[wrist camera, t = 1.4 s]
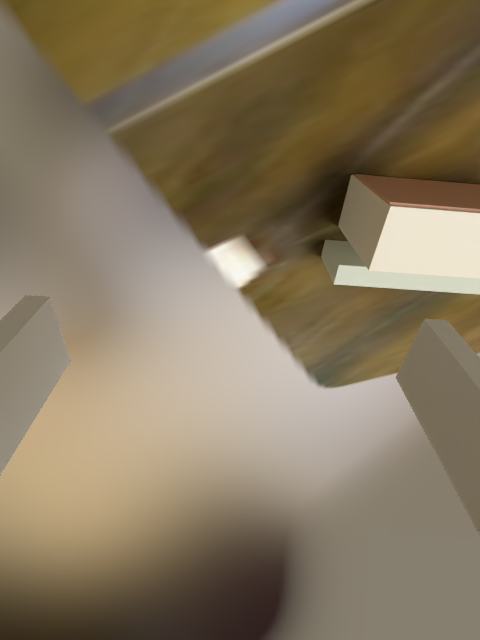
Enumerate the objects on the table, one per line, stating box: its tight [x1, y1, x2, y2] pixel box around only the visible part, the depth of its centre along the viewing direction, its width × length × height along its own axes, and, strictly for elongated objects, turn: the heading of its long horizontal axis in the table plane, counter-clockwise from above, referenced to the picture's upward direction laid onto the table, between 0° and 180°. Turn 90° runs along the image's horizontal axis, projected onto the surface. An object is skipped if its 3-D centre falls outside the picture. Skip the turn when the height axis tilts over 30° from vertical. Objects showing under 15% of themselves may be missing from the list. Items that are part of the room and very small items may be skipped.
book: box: [338, 174, 480, 279], centre depth 29 cm, size 13×5×10 cm, turn 86°
